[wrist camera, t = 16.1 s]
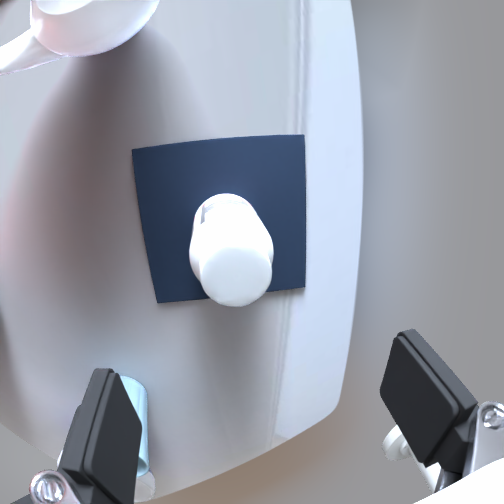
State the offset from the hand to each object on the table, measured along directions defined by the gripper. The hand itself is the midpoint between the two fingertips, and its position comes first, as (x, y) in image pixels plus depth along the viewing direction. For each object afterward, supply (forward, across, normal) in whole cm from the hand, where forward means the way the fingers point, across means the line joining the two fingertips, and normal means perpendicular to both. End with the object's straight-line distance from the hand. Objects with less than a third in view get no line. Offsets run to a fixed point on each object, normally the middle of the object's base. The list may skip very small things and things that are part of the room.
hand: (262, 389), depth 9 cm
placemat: (+18, 0, 0) cm, 18 cm away
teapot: (+18, +8, -20) cm, 28 cm away
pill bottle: (+18, 0, 0) cm, 18 cm away
